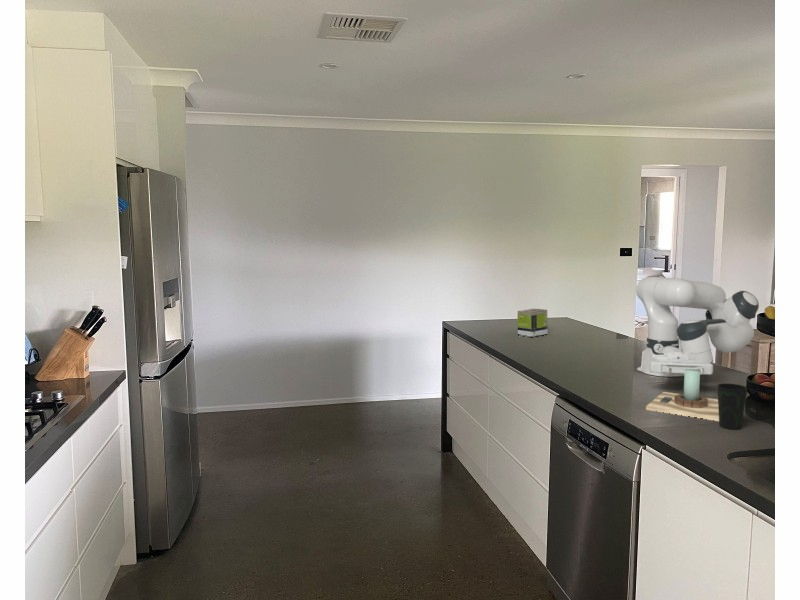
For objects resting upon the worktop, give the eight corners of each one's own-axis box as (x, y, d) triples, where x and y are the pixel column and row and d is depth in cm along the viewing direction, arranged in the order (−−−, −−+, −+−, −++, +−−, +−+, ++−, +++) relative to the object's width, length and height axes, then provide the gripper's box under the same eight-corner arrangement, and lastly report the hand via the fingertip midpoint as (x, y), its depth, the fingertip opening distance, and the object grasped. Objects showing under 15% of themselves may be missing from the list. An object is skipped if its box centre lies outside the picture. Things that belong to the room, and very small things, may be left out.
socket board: (663, 395, 209) (663, 386, 209) (734, 405, 196) (734, 395, 195) (646, 409, 191) (646, 400, 191) (722, 422, 178) (723, 411, 178)
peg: (681, 401, 196) (683, 369, 195) (696, 402, 195) (697, 369, 194) (685, 405, 192) (686, 372, 191) (700, 406, 191) (701, 372, 190)
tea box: (533, 333, 344) (533, 308, 343) (547, 335, 337) (548, 309, 335) (516, 336, 335) (517, 310, 333) (531, 338, 327) (531, 311, 325)
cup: (748, 426, 174) (750, 386, 173) (740, 432, 168) (743, 391, 167) (719, 421, 179) (722, 382, 178) (711, 426, 174) (713, 386, 173)
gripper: (707, 373, 212) (718, 382, 199) (646, 370, 218) (652, 379, 204) (708, 355, 212) (718, 363, 198) (646, 353, 217) (652, 361, 204)
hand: (684, 371), depth 201 cm, fingers open, 8 cm apart
